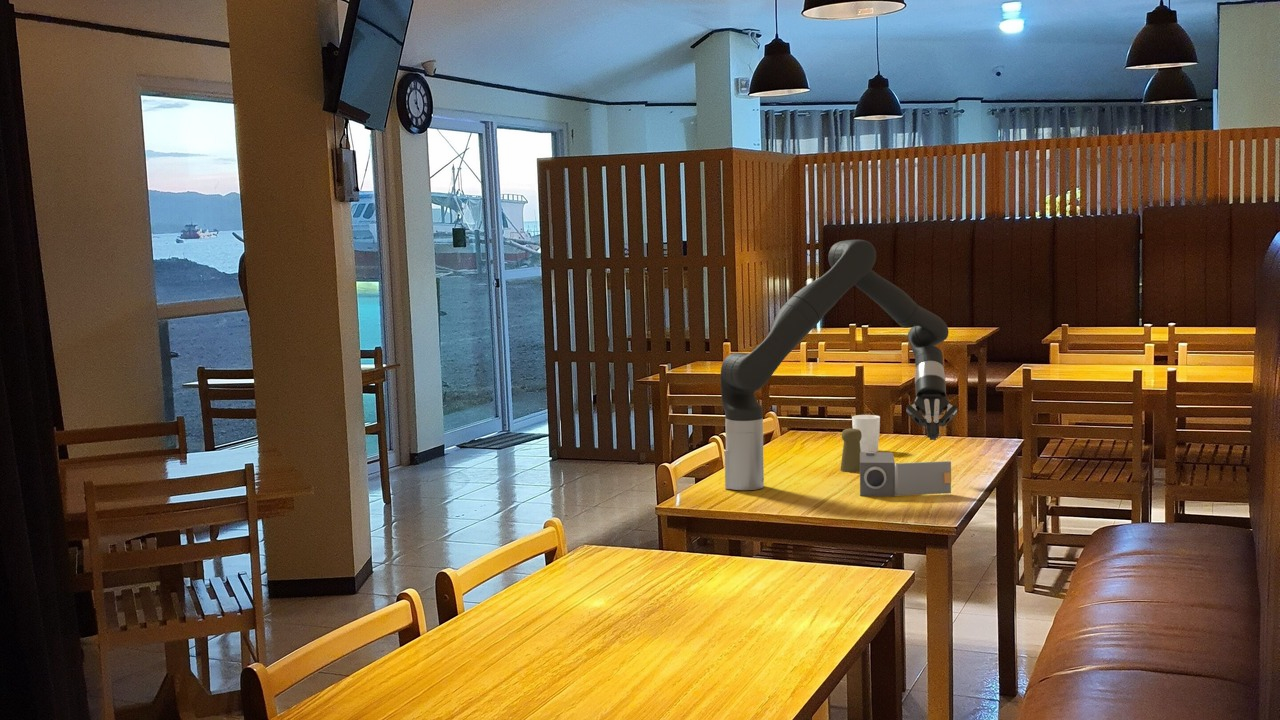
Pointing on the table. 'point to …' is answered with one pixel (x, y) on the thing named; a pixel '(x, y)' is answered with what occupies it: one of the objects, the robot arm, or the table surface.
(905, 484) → the door
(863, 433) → the white cup
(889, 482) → the block
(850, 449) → the cork
